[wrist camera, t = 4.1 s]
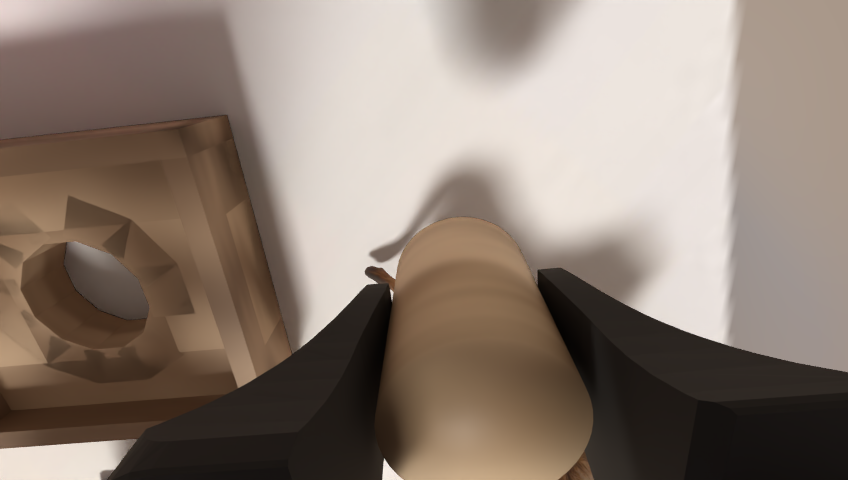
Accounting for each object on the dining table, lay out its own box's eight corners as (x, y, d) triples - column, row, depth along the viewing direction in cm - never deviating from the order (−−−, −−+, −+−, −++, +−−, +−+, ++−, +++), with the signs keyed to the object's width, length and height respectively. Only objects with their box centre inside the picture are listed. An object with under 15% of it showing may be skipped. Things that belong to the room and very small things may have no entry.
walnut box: (296, 372, 24) (273, 428, 21) (41, 392, 25) (-26, 450, 21) (227, 114, 19) (178, 129, 15) (-96, 150, 20) (-217, 171, 16)
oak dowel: (526, 326, 14) (588, 497, 9) (404, 335, 14) (389, 509, 9) (524, 210, 13) (599, 328, 7) (389, 223, 13) (358, 347, 7)
